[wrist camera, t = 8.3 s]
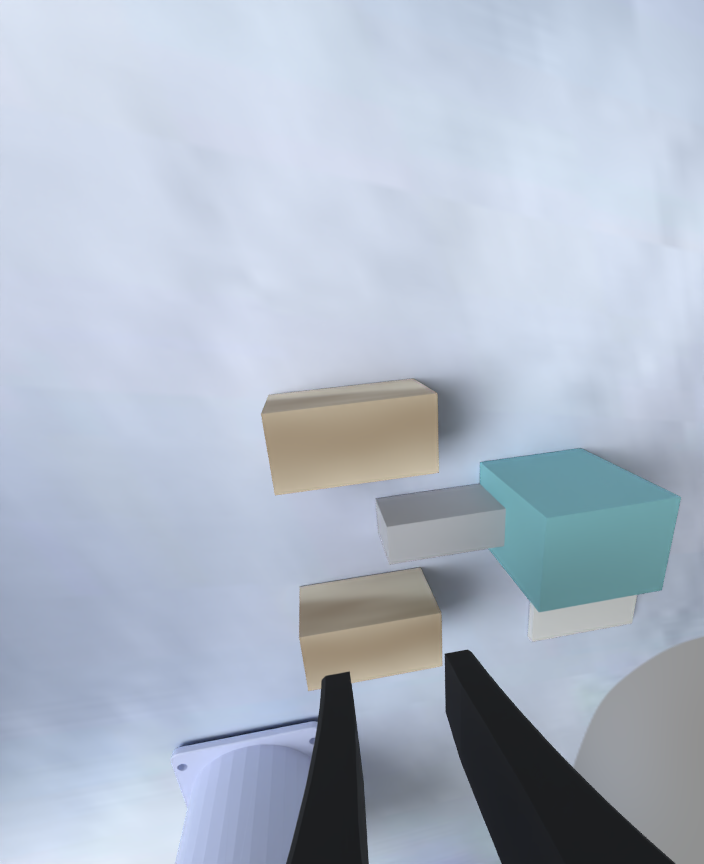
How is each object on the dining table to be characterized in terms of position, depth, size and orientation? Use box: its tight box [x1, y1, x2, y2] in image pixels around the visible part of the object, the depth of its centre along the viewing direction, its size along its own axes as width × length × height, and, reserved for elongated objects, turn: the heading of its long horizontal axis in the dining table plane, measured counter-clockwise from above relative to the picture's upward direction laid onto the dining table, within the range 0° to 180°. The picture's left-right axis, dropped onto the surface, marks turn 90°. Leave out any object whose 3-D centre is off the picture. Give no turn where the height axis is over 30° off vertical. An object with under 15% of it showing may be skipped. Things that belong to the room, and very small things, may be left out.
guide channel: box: [261, 379, 442, 691], centre depth 16 cm, size 12×6×3 cm, turn 5°
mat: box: [528, 595, 637, 642], centre depth 20 cm, size 6×6×1 cm
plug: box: [376, 448, 681, 612], centre depth 16 cm, size 4×10×5 cm, turn 95°
